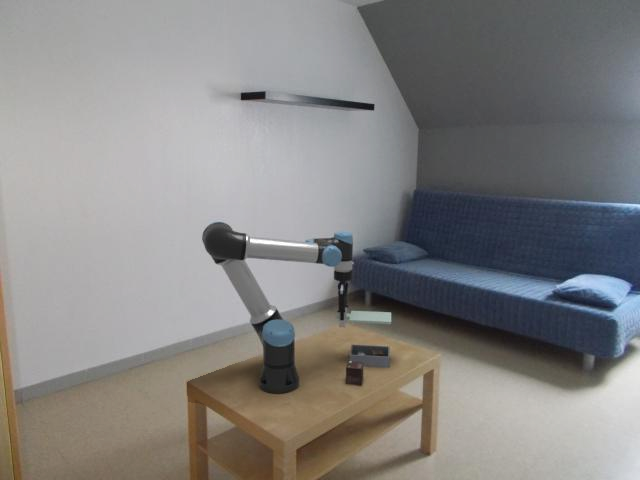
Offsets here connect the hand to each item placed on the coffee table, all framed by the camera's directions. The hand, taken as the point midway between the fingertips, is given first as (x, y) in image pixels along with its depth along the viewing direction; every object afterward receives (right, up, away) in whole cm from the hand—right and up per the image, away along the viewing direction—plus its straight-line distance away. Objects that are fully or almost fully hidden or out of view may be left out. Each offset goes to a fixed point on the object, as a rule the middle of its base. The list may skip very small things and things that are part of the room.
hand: (342, 324), depth 204 cm
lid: (+9, +3, -2) cm, 9 cm away
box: (+4, -19, -17) cm, 26 cm away
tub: (+11, -16, +1) cm, 19 cm away
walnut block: (+14, -15, +1) cm, 21 cm away
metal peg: (+8, -15, +1) cm, 17 cm away
